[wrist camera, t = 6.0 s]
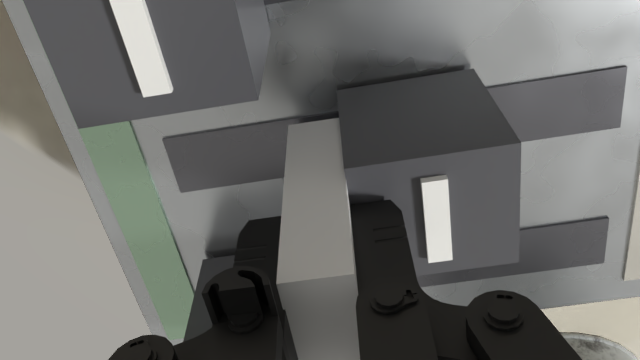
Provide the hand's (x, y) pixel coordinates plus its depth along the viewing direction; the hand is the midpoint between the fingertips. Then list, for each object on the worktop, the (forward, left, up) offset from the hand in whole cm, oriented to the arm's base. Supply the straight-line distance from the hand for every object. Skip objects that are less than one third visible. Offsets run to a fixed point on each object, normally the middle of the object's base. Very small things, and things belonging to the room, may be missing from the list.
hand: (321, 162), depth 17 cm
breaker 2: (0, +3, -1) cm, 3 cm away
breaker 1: (-5, -3, -1) cm, 6 cm away
